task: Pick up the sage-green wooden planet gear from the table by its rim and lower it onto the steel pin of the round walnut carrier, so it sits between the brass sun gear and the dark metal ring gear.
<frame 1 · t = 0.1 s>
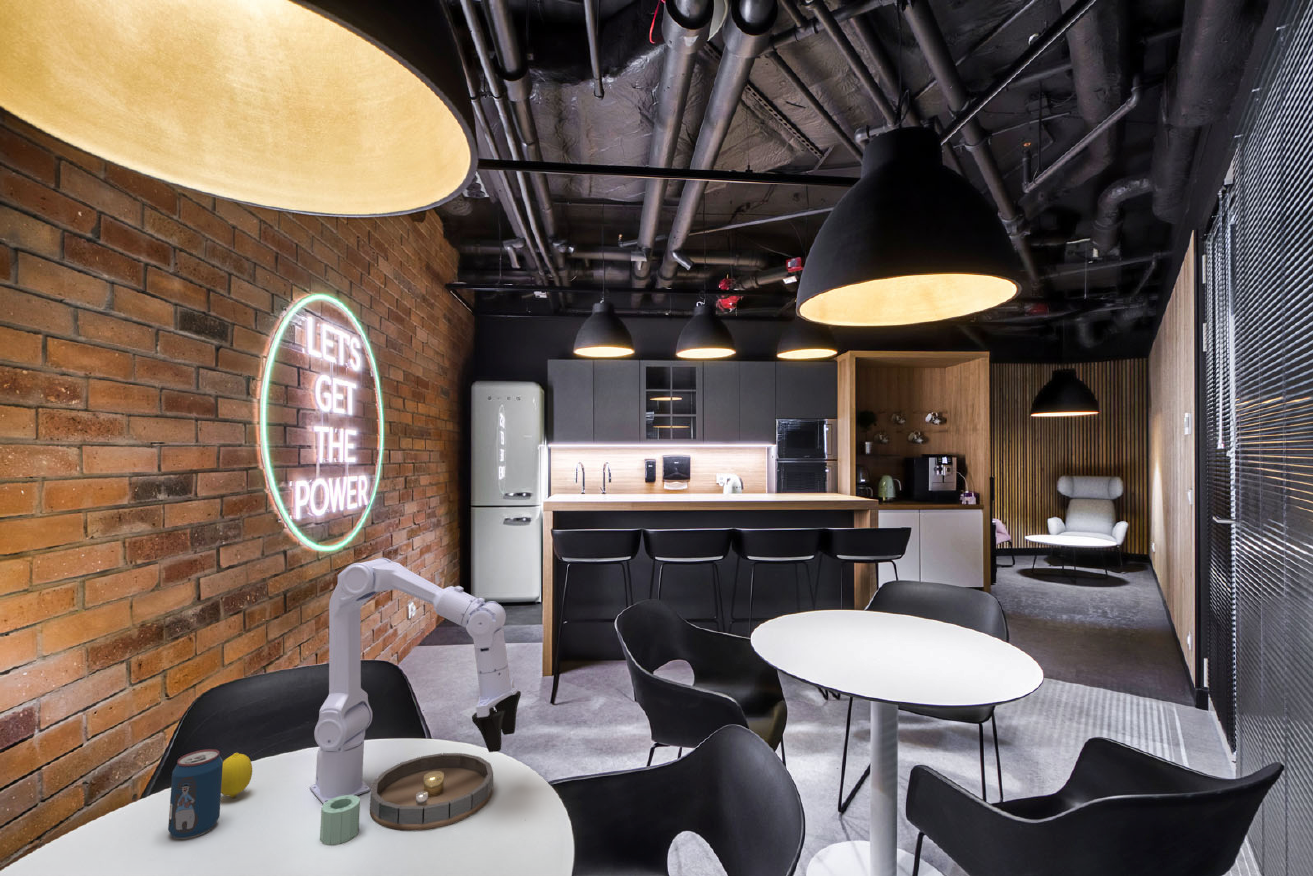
hand: (502, 742, 112), 11 cm above the table, tool pointing down, fingers open, 7 cm apart
carrier: (433, 797, 112), on the table
lemon: (233, 798, 112), on the table
planet gear: (339, 834, 100), on the table
soda can: (193, 831, 101), on the table
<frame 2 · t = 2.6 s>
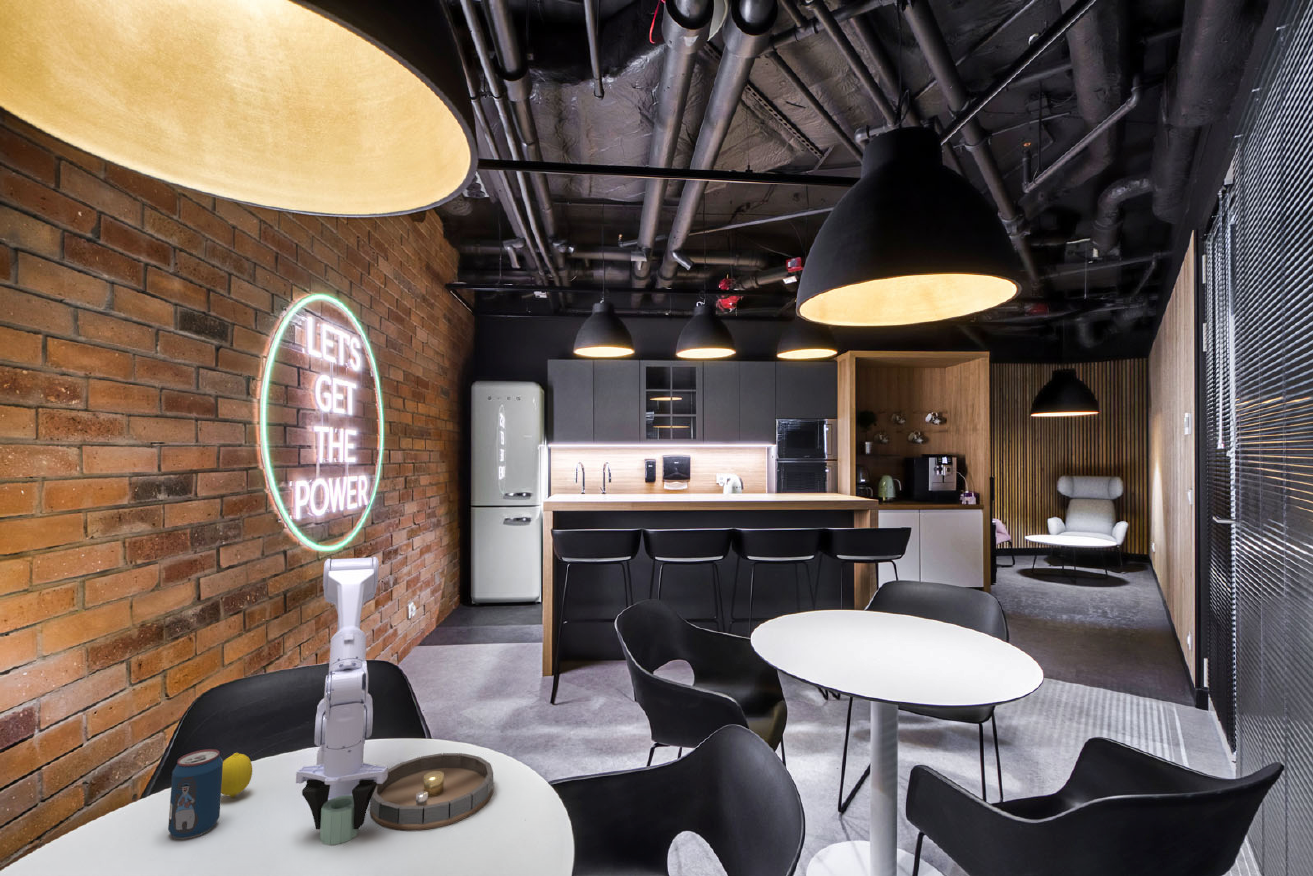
hand: (339, 826, 100), 1 cm above the table, tool pointing down, fingers closed on planet gear, 6 cm apart
planet gear: (339, 834, 100), on the table, touching gripper
everything else where it was.
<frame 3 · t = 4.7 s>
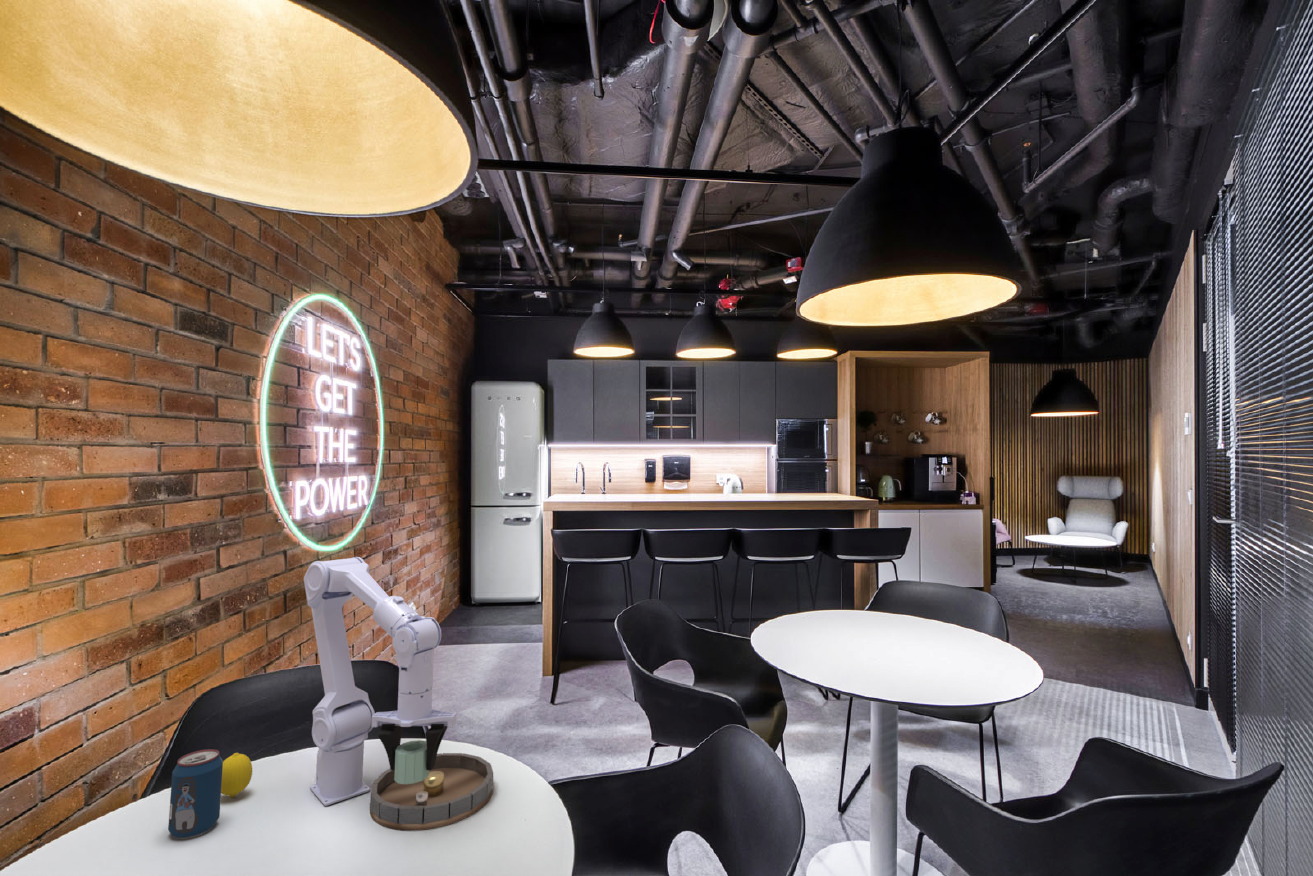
hand: (412, 767, 106), 8 cm above the table, tool pointing down, fingers closed on planet gear, 6 cm apart
planet gear: (412, 776, 106), point 7 cm above the table, touching gripper
everything else where it was.
when the fingers open (4 cm above the table, at t = 7.2 s): planet gear drops 1 cm, resting on carrier.
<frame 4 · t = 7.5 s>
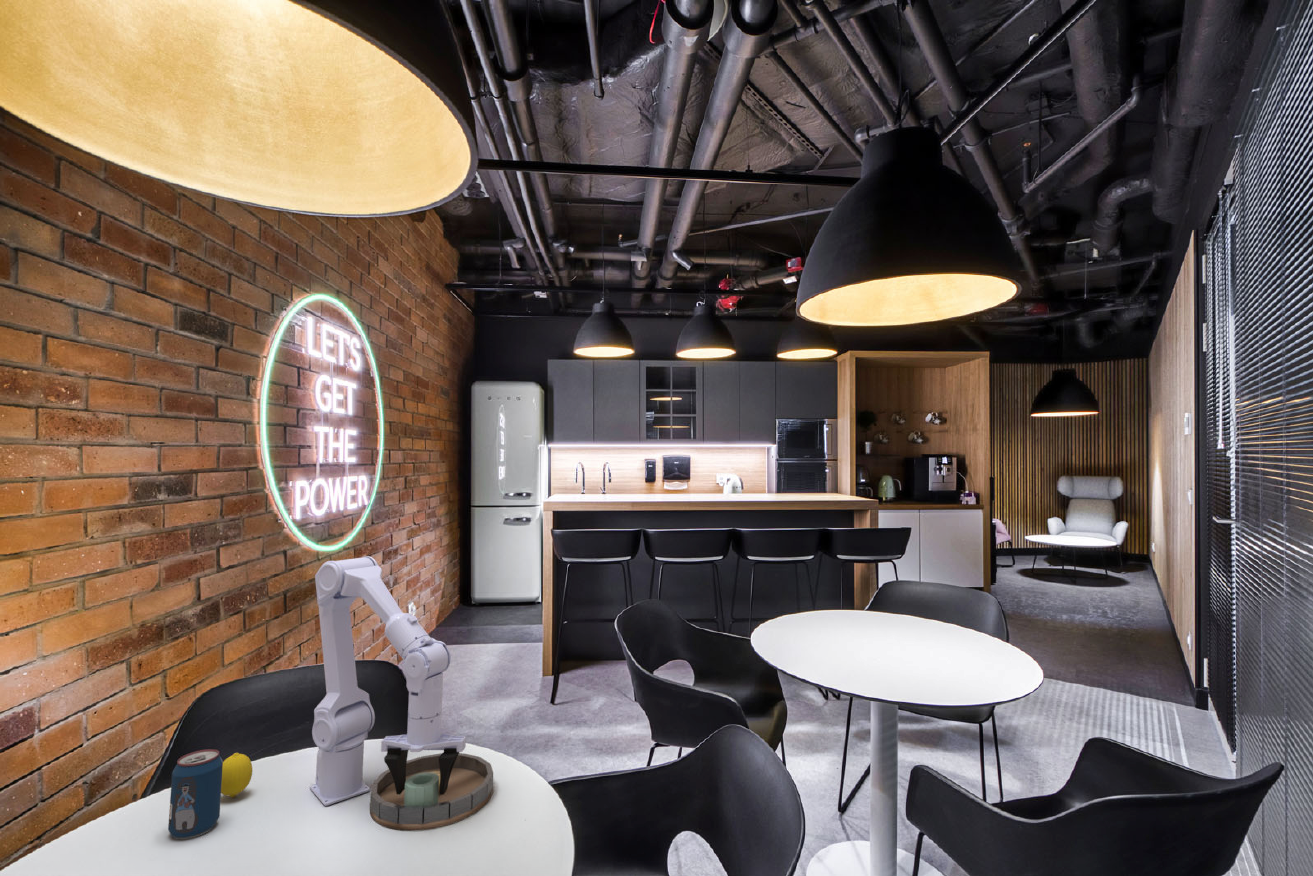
hand: (422, 791, 107), 4 cm above the table, tool pointing down, fingers open, 7 cm apart
planet gear: (421, 809, 106), point 1 cm above the table, touching carrier
everything else where it was.
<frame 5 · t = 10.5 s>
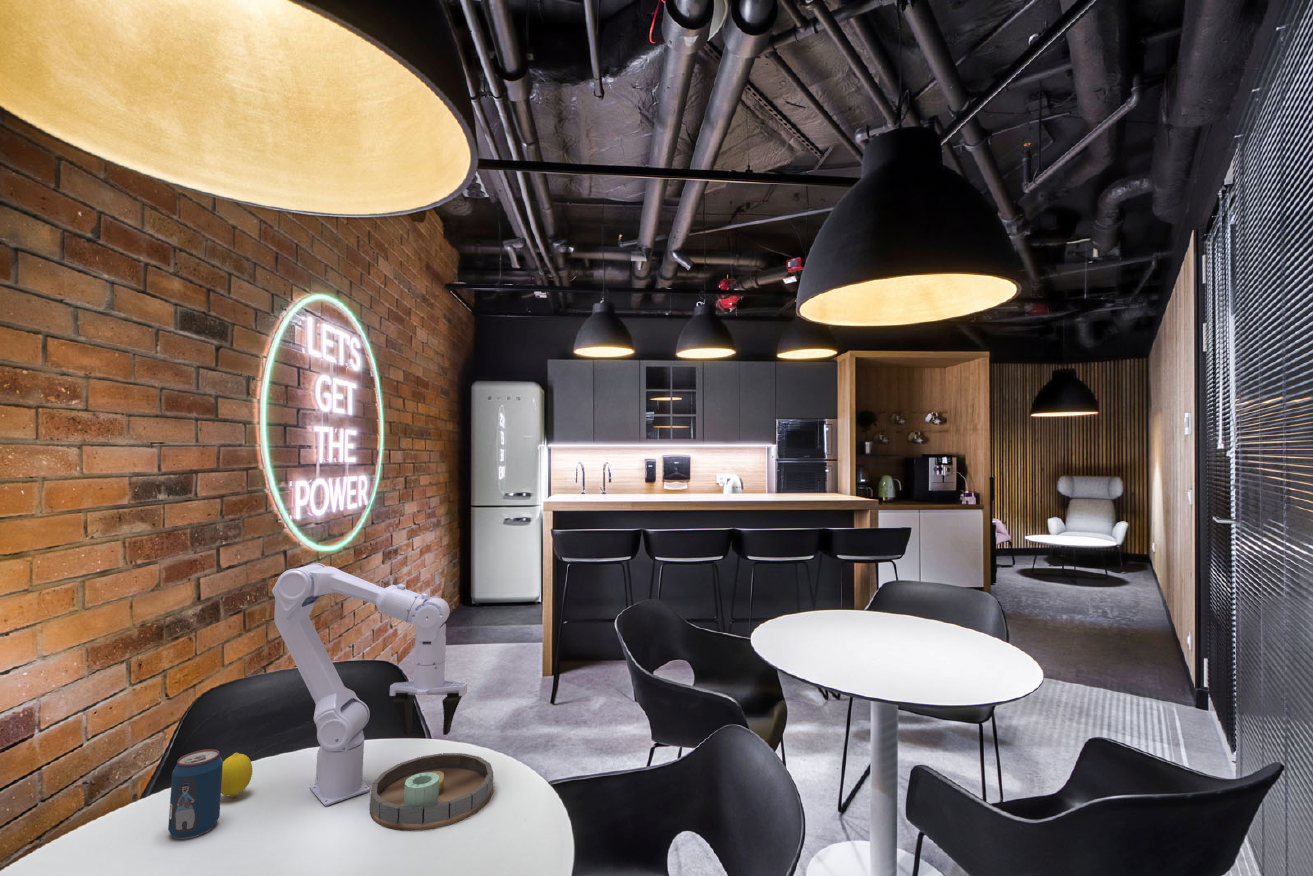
hand: (427, 732, 117), 10 cm above the table, tool pointing down, fingers open, 7 cm apart
nothing on the table moved.
at the end: planet gear 0.1 cm from the target spot on the carrier, point 1.0 cm above the carrier's base; planet gear tilted 0°; the gripper is holding nothing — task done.
